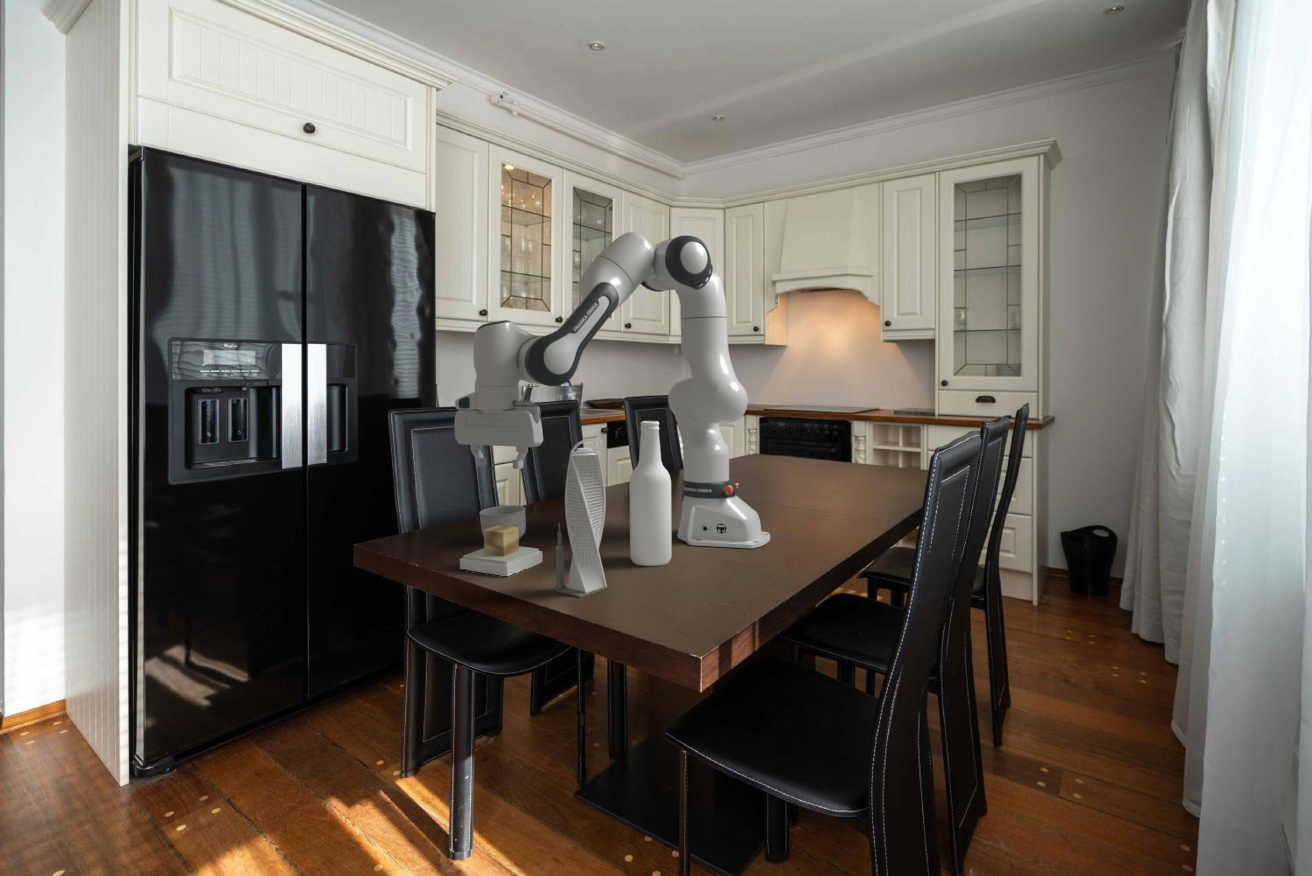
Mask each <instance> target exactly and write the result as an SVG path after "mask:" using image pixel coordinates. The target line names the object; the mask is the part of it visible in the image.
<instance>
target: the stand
mask: <svg viewBox="0 0 1312 876" xmlns="http://www.w3.org/2000/svg"><path fill="white" fill-rule="evenodd" d="M541 562H542V563H543V551H542V550H539V548H535V547H528V546H527V547H526V546H519V551H517V552H514V553H511V554H509V555H506V556H497V555H490V554H485V553H484V548H481V549H478V550H475V551H472V552H470V553H468V554H464V555H463V556H462V558H459V570H460V569H467V570H471V571H477V572H482V573H490V574H495V575H500V576H499V577H502V576H509V577H511V576H510V575H512V574H514V573H516V574H518V572H519V573H521V572H523V571H525V570H524V569H526V570H528V569H530V568H532V567H534V566H537V565H539V564H542V563H541ZM522 570H523V571H522ZM520 571H521V572H520ZM495 575H494V576H495ZM514 575H515V574H514ZM512 576H513V575H512Z"/></svg>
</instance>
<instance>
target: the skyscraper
mask: <svg viewBox="0 0 1312 876" xmlns="http://www.w3.org/2000/svg"><path fill="white" fill-rule="evenodd" d="M589 442H598V446H597V448H596V450H593V448H592V447H591V448H590V447H579V446H580V445H582V444H585V443H589ZM602 444H603V440H602V439H600V438H587V439H583V440H581V441H579V442H577V443H575V445H574V446H573V447H572V448H571V450H570V452H569V458H568V465H567V471H566V480H565V490H564V509H565V510H564V511H565V521H566V528H567V534H568V539H569V543H570V547H571V552H572V555H571V563H570V569H569V573H568V579H567V583H566V582H565V579H566V569H565V564H564V563H565V562H564V561H565V560H564V558H565V556H564V553H565V546H564V545H563V544H562V541H563V540H562V539H563V538H562V534H563V533H562V531H561V522H559V523H558V526H557V527H558V532H557V545H556V546H555V555H556V556H555V557H556V566H555V567H556V568H555V580H556V585H555V587H554V588H553V591H554V590H555V592H558V593H563V594H566V595H569V596H572V597H575V598H579V599H581V598H584V597H586V596H590V595H592V594H595V593H598V592H602V591H604V590H606V589H608V586H607V581H606V576H605V572H604V567H603V564H602V559H601V555H600V550H599V549H600V546H601V541H602V537H603V530H604V526H605V518H606V508H607V507H606V506H607V504H606V503H607V501H606V498H607V495H606V494H607V493H606V485H605V479H604V478H605V477H604V472H603V467H602V462H601V461H602V460H601V456H600V449H601V447H602ZM578 447H579V448H578Z"/></svg>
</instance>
